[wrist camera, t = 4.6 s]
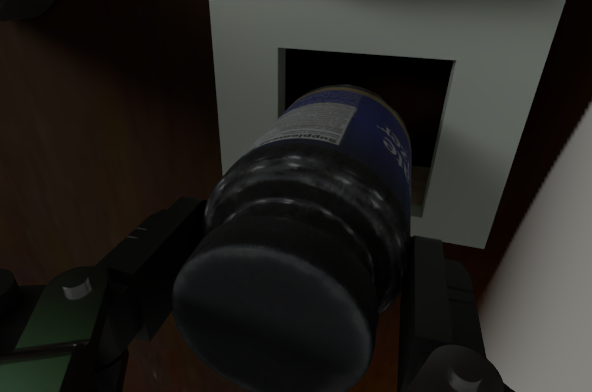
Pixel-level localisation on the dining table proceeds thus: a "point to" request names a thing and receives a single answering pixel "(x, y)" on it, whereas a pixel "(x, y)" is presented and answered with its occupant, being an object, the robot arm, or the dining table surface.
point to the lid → (407, 43)
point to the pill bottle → (302, 247)
